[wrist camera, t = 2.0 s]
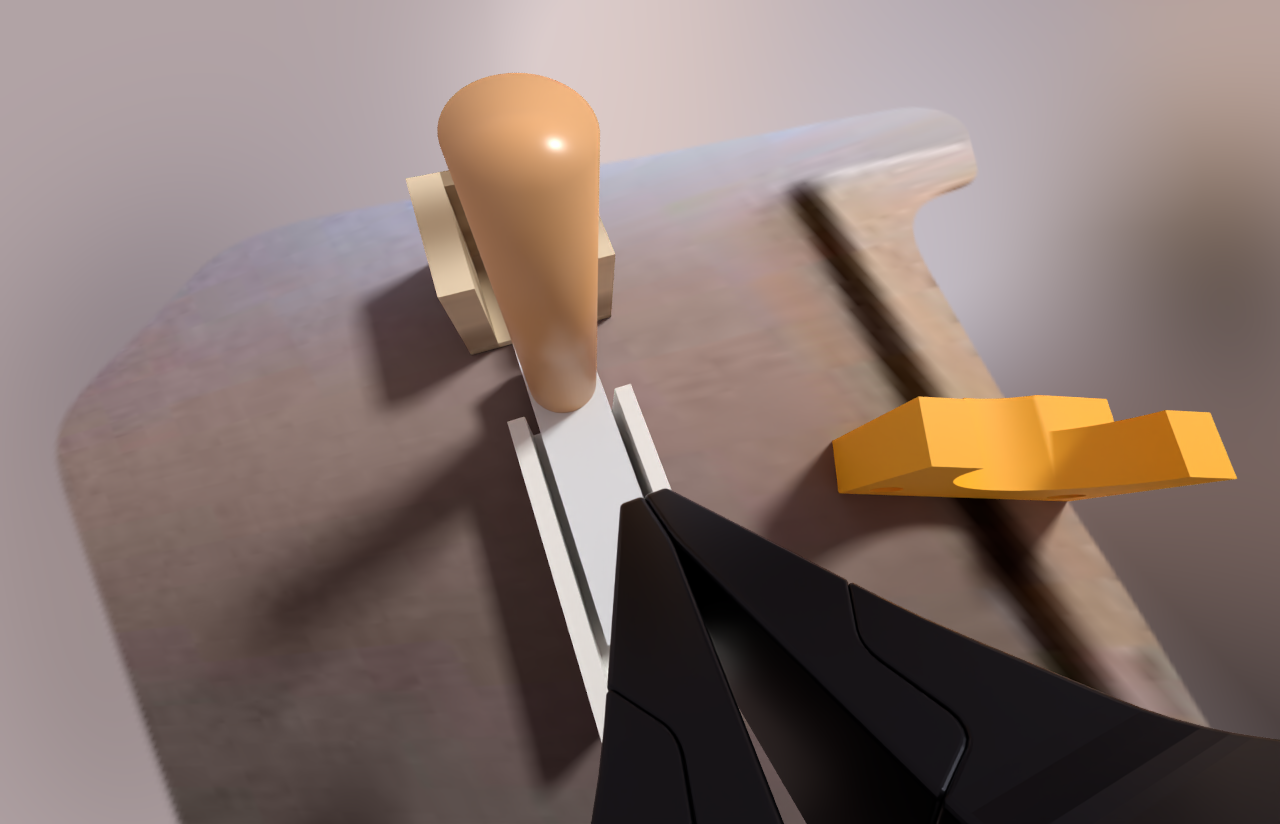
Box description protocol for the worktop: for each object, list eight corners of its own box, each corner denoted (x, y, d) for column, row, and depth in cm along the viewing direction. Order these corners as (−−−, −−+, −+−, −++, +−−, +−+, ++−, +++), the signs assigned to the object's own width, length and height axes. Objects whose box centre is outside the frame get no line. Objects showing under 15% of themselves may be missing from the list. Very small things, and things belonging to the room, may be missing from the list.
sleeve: (723, 669, 19) (748, 689, 16) (603, 724, 18) (606, 757, 15) (625, 408, 22) (630, 384, 19) (519, 442, 21) (507, 421, 18)
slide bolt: (675, 607, 19) (866, 708, 6) (606, 636, 18) (639, 825, 5) (580, 346, 22) (562, 27, 9) (519, 363, 21) (404, 48, 8)
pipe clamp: (1041, 419, 24) (1193, 371, 18) (1064, 501, 23) (1237, 478, 17) (826, 408, 23) (910, 353, 17) (837, 493, 22) (931, 466, 16)
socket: (610, 316, 23) (615, 254, 19) (471, 354, 22) (437, 297, 17) (575, 225, 25) (571, 147, 20) (443, 255, 24) (405, 178, 19)
